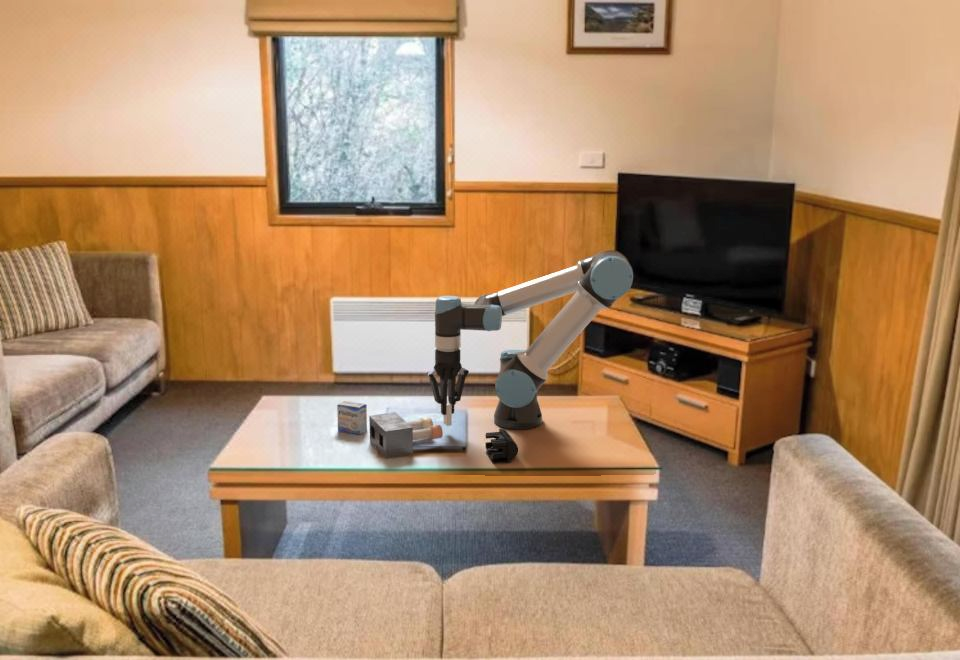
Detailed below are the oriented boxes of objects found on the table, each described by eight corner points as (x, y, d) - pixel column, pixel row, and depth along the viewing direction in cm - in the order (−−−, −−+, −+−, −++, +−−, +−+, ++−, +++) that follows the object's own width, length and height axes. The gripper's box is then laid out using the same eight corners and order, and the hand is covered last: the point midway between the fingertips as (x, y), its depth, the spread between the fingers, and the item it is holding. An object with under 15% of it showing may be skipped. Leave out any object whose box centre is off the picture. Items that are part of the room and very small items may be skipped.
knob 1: (428, 427, 257) (428, 415, 256) (433, 431, 254) (432, 419, 253) (380, 434, 251) (380, 422, 250) (384, 438, 248) (384, 426, 247)
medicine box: (337, 431, 260) (336, 404, 258) (345, 427, 264) (344, 400, 262) (360, 435, 257) (359, 407, 255) (367, 430, 261) (366, 403, 259)
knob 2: (437, 435, 251) (437, 423, 250) (442, 439, 247) (442, 427, 246) (389, 442, 244) (388, 430, 244) (393, 447, 241) (393, 434, 240)
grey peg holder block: (395, 437, 255) (395, 412, 253) (412, 454, 242) (412, 427, 240) (369, 441, 251) (369, 415, 249) (386, 458, 239) (385, 431, 237)
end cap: (518, 462, 236) (518, 439, 235) (493, 464, 235) (493, 441, 233) (509, 449, 246) (509, 427, 244) (485, 451, 244) (485, 429, 243)
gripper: (462, 343, 258) (462, 417, 264) (422, 347, 253) (422, 423, 258) (473, 349, 252) (472, 425, 257) (432, 353, 246) (432, 431, 252)
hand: (447, 424), depth 258 cm, fingers closed
